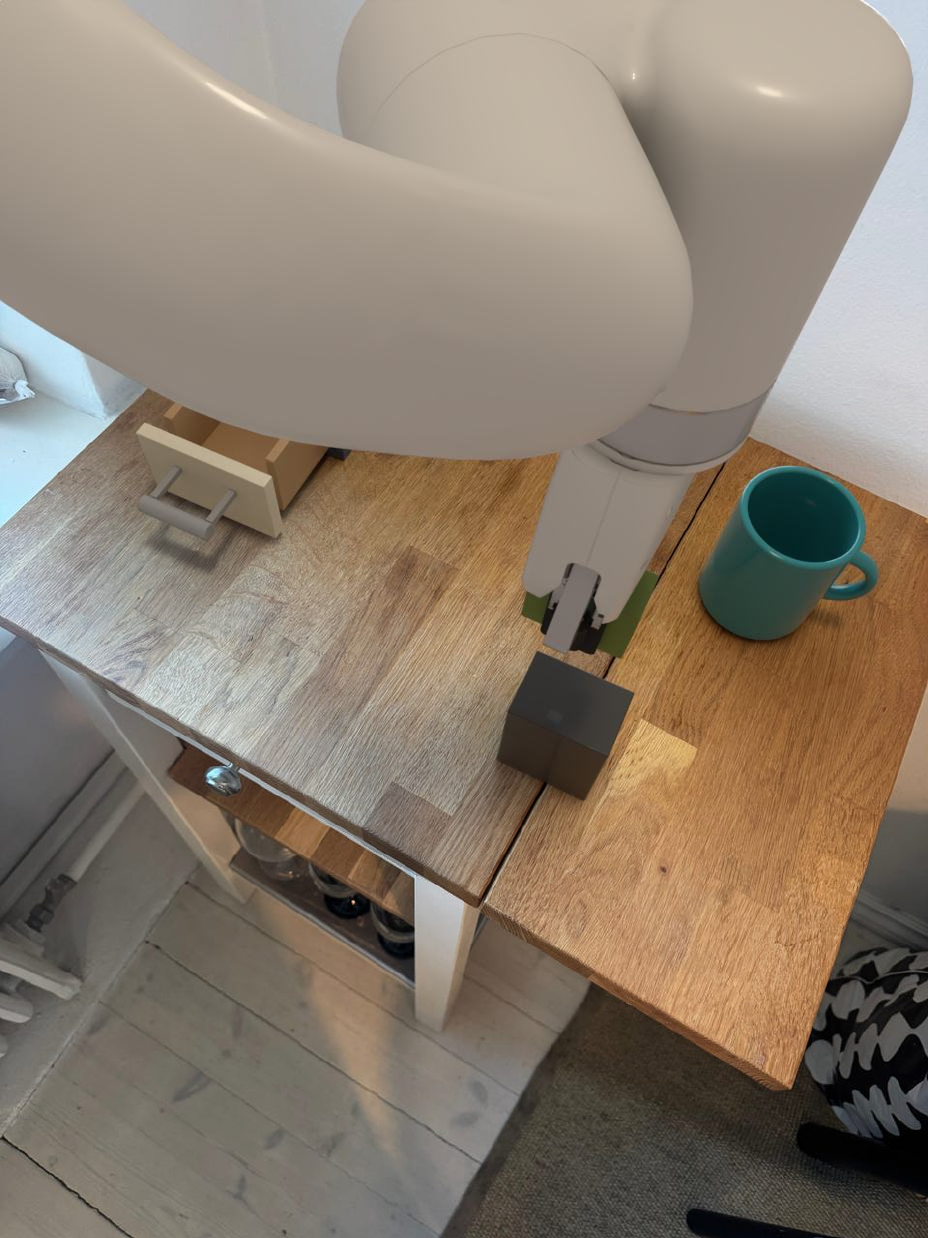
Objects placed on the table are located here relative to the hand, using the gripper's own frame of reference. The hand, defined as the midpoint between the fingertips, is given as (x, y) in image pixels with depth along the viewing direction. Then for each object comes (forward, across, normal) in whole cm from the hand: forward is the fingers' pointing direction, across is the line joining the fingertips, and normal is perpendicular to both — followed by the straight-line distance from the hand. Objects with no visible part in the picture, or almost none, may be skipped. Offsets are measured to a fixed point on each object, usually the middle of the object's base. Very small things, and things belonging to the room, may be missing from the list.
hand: (581, 612), depth 49 cm
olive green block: (0, 0, 0) cm, 0 cm away
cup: (+19, -20, +12) cm, 30 cm away
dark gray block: (+19, 0, +1) cm, 19 cm away
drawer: (+19, -11, -32) cm, 38 cm away
